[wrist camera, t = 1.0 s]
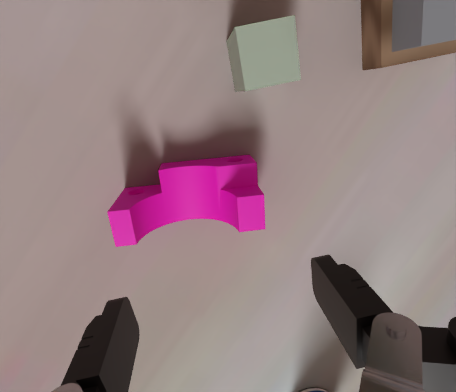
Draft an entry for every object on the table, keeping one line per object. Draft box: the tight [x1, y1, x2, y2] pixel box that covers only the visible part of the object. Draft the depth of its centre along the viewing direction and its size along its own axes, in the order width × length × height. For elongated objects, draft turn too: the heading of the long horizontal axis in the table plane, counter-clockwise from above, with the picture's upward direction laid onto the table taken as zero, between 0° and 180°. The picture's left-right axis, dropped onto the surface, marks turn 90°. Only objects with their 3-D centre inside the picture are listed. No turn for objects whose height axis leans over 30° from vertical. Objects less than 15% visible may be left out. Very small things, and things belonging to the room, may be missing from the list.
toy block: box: [108, 155, 265, 247], centre depth 31 cm, size 15×6×8 cm, turn 94°
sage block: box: [226, 15, 301, 92], centre depth 28 cm, size 5×5×7 cm
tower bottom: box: [361, 0, 456, 70], centre depth 29 cm, size 10×10×4 cm
